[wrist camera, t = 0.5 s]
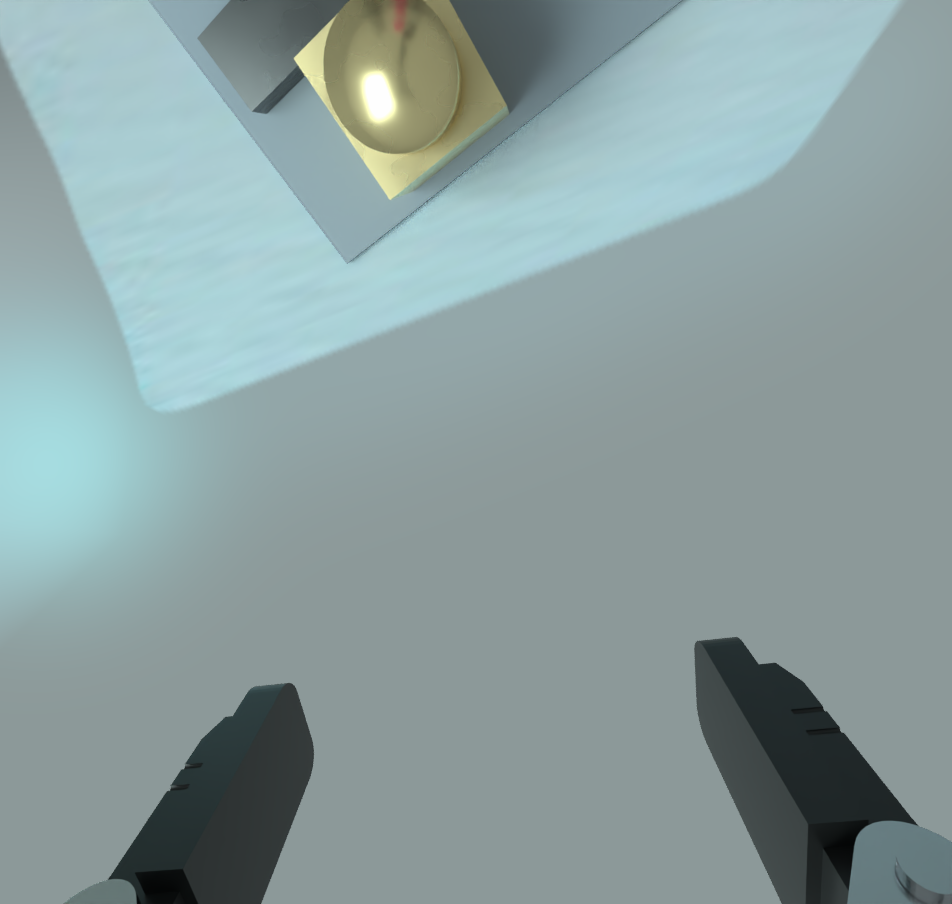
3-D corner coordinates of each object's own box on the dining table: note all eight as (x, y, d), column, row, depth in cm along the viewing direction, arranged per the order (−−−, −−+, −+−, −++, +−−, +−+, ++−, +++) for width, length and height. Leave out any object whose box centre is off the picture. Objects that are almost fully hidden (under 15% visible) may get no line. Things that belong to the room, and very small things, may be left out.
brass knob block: (337, 76, 27) (273, 50, 20) (436, -19, 24) (403, -86, 18) (413, 191, 29) (379, 203, 22) (509, 114, 27) (505, 101, 20)
